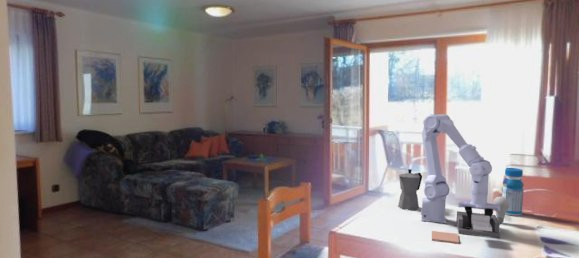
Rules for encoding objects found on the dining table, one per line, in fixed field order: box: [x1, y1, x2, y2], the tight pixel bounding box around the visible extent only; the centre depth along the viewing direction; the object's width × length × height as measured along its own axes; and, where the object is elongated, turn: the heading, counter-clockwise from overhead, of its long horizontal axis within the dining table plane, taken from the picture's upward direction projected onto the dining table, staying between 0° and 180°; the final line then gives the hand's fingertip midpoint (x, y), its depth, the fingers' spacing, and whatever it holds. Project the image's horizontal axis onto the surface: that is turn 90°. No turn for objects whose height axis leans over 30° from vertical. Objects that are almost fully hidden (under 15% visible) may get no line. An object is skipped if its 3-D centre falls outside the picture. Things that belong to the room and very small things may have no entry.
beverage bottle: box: [501, 167, 525, 217], centre depth 180 cm, size 8×8×20 cm
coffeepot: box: [397, 168, 423, 211], centre depth 188 cm, size 15×9×18 cm, turn 125°
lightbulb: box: [492, 195, 510, 224], centre depth 166 cm, size 6×6×11 cm
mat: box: [431, 230, 460, 245], centre depth 148 cm, size 9×9×1 cm
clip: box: [471, 214, 492, 232], centre depth 146 cm, size 6×8×3 cm
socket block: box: [455, 210, 501, 239], centre depth 157 cm, size 14×13×5 cm
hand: (477, 227), depth 156 cm, fingers closed on plug, 4 cm apart
